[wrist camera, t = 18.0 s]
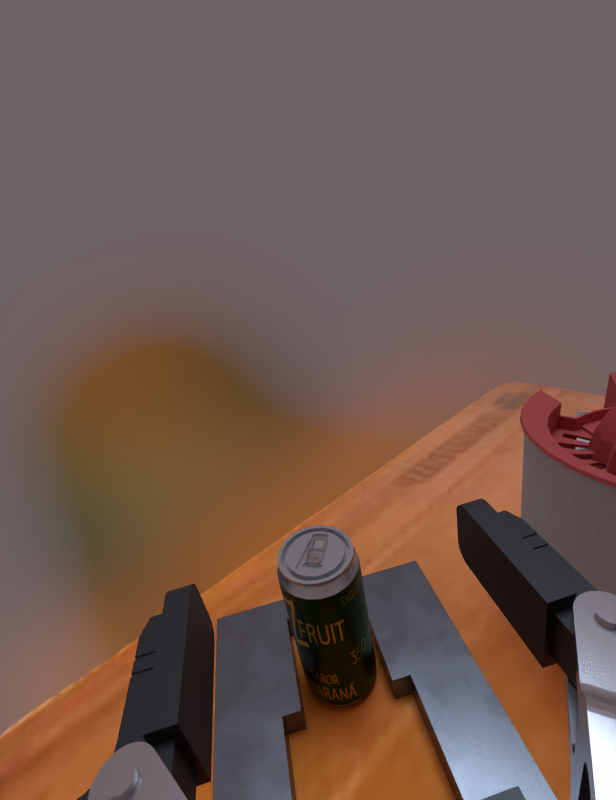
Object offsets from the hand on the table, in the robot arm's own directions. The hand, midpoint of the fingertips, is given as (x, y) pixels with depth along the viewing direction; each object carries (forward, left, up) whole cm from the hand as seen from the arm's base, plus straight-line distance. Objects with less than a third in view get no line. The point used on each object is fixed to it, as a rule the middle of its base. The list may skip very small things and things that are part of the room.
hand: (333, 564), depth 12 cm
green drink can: (-1, -11, -22) cm, 25 cm away
